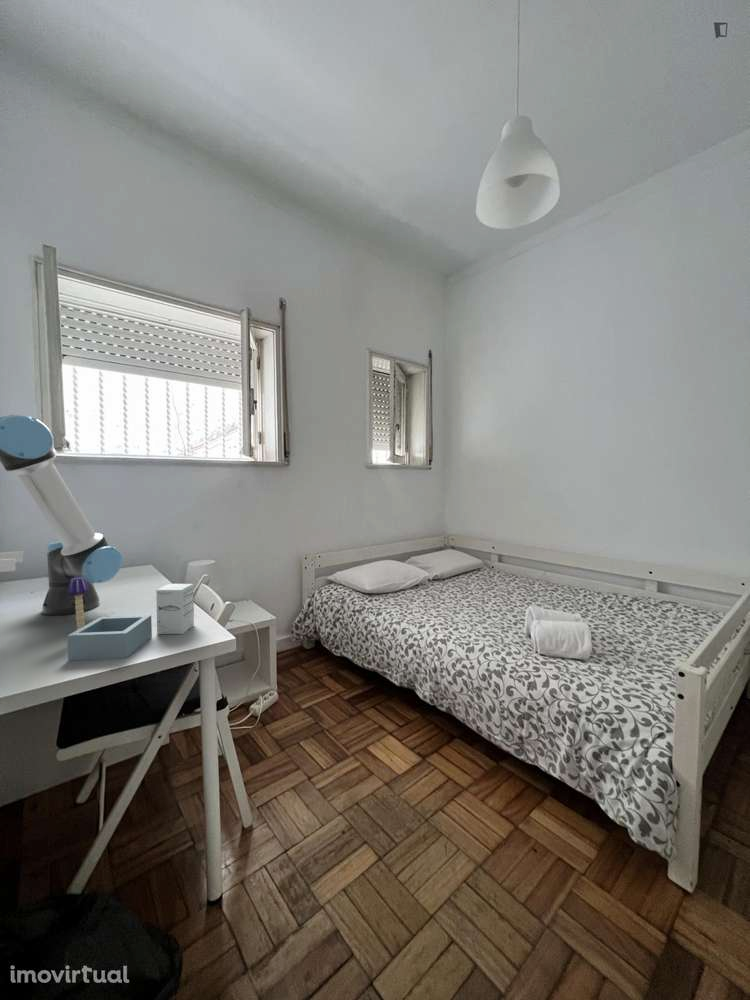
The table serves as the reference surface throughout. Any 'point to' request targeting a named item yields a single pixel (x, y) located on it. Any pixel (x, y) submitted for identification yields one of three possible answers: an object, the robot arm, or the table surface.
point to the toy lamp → (78, 597)
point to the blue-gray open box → (109, 637)
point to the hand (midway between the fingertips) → (19, 560)
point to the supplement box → (175, 608)
